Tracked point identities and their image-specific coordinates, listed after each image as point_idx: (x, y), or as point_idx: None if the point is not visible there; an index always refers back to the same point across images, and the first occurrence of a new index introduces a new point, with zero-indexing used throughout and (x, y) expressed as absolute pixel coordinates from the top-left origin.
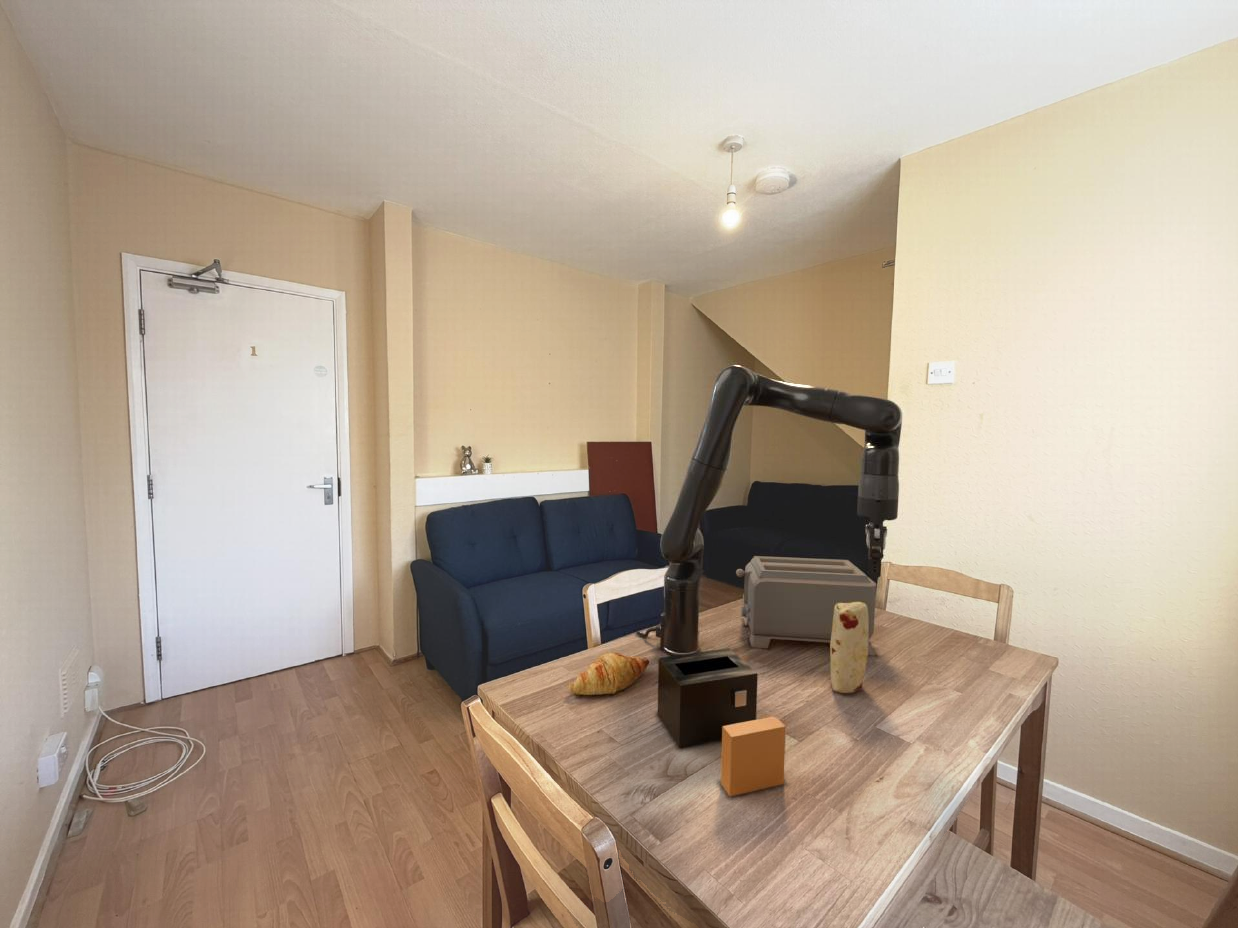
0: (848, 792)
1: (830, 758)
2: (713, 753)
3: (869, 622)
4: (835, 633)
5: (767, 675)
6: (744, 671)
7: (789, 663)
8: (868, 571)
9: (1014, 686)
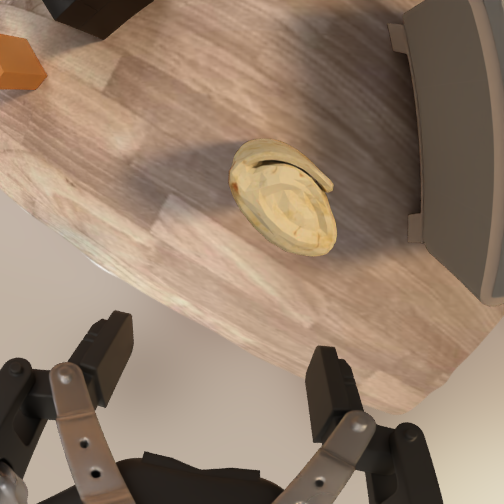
0: (43, 150)
1: (82, 130)
2: None
3: (437, 254)
4: (243, 148)
5: (281, 36)
6: (57, 2)
7: (344, 79)
8: (118, 319)
9: None
